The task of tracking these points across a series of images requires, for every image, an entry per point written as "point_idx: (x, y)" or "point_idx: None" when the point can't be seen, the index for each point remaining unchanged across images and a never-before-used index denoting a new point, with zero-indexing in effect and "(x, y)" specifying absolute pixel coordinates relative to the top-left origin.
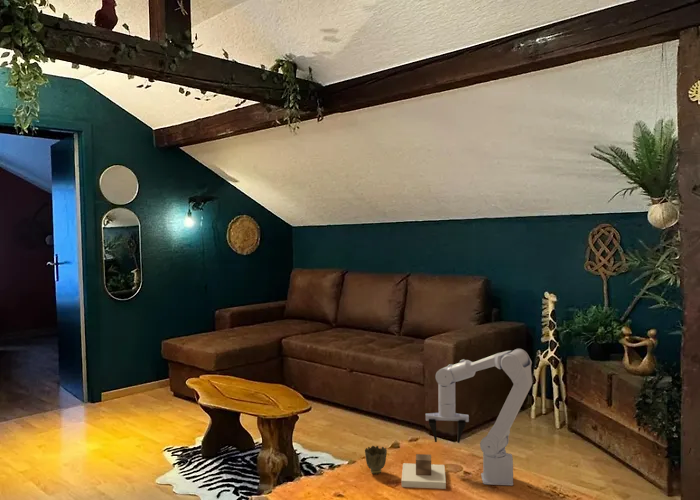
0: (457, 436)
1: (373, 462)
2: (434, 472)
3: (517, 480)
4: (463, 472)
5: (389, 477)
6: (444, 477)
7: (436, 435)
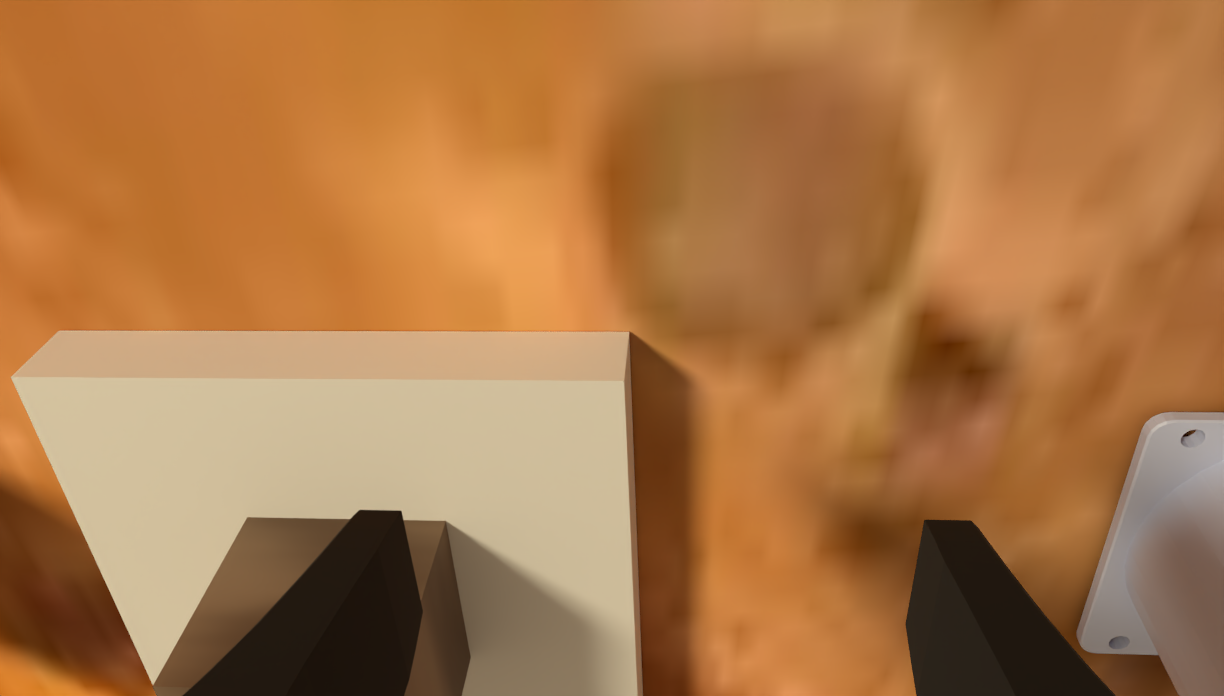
0: (951, 632)
1: None
2: (499, 590)
3: None
4: (902, 360)
5: (8, 540)
6: (626, 687)
7: (369, 675)
